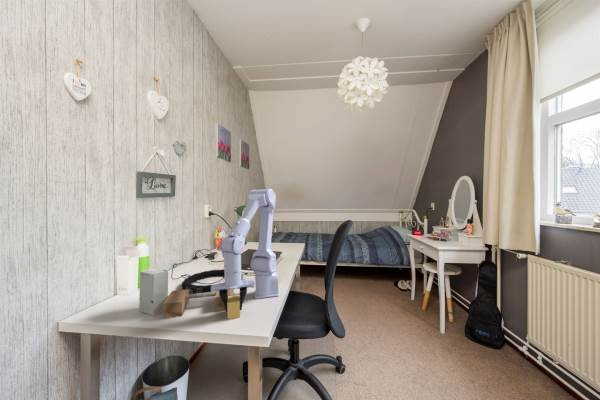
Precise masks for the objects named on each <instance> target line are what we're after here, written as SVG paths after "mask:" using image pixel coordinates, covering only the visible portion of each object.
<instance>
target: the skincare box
mask: <svg viewBox="0 0 600 400" xmlns="http://www.w3.org/2000/svg"><path fill="white" fill-rule="evenodd" d="M168 296H169V270H167V269H164V268H162V267H161V268H159V267H150V268H148V269H143V270H140V271H139V304H138V305H139V308H138V309H139V310H138V311H139V312H141V313H143V314H144V313H145V314H148V315H150V316H155V315H157V314H159V312H160V313H163V306H162V304H163V303H164V301H165V300H166V299H167V297H168Z"/></svg>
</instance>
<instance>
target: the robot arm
mask: <svg viewBox="0 0 600 400" xmlns="http://www.w3.org/2000/svg"><path fill="white" fill-rule="evenodd" d="M276 195H277V194H276V193H275V191H274V189H272V188H267V189H266V188H265V189H251V190H250V192H249V194H248V196H247V200H248V202H247V205H246V206H245V209H244V210H243V211H244V212H243V213H242V215H241V218H238V219H236V220H235V221H234V224H233V226H232V228H230V229H231V230H230V232H229V233H228V235H227V236H225V237H223V238H222V240H221V242H220V245H219V250H220V251H221V254H222V258H223V264H224V266H223V269H224V276H223V277H224V282H225V283H224V282H220V283H221V284H220V283H217V284H210V285H211V293H212V292H215V291H219V295H220V297H221V299H222V301H223V303H224V305H225V309H226V310H225V313H227V302H228V290H239V295H240V311H242V310H243V303H244V300H245V297H246V295H247V292H248V289H249V288H252V289H253V288H255V290H254V291H253V292H254V297H255V298H254V299H257V300H258V299H264V298H265V299H266V298H273V297H279V296H280V295H279V276H278V272H277V271H276V270H277V267H278V266H277V263H278V262H277V254H276V253H275V252H274V251H273V250H272V248H271V247H272V238H273V237H272V236H273V223H274V210H276V203H277V202H276V200H277V196H276ZM257 210H258V211H259V212H260V223H259V233H258V234H259V235H258V245H257V247H258V248H257V249H256V250H255V251H254V252H253V253H252V258H251V260H250V269H251V271H253V274H254V278H255V280H254V279H253V280H243V279H242V278H241V274H242V252H243V251H244V249H245V245H246V244H245V242H246V236H247V235H248V233H249V231H250V228H251V227H252V226H251V223H250V222H251V220H252V219H253V217H254V216H255V214H256V213H257Z"/></svg>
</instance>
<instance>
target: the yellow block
mask: <svg viewBox="0 0 600 400" xmlns="http://www.w3.org/2000/svg"><path fill="white" fill-rule="evenodd" d="M226 313H227V320H234V319H239V318H241V310H240V294H236V295H235V294H234V296H228V302H227V312H226Z"/></svg>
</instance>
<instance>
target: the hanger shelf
mask: <svg viewBox="0 0 600 400" xmlns="http://www.w3.org/2000/svg"><path fill="white" fill-rule="evenodd" d="M234 290H235V289H234ZM234 290H228V296H234V295H235V294H234V293H235V291H234ZM206 297H207V298H208V297H215V298H214V301H215V302H214V305H215V306H214V307H215V312H222V311H226V309H225V305H224V303H223V301H222V299H221V297H220V295H219V291H215V292H212V293H211V292H206V293H197V294H189V289H186V290H183V289H178V290H172V291H171V292H170V293H169V294H168V297H167V299H166V300H165V301H164V303H163V304H162V306H163V311H162V319H163V318H164V319H169V318H170V317H171V318H176V316H179V317H182V316H183V315H184V313H185V311H186V309H187V307H188V305H189V303H190V300H192V299H199V298H200V299H201V298H206ZM171 318H170V319H171Z"/></svg>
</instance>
